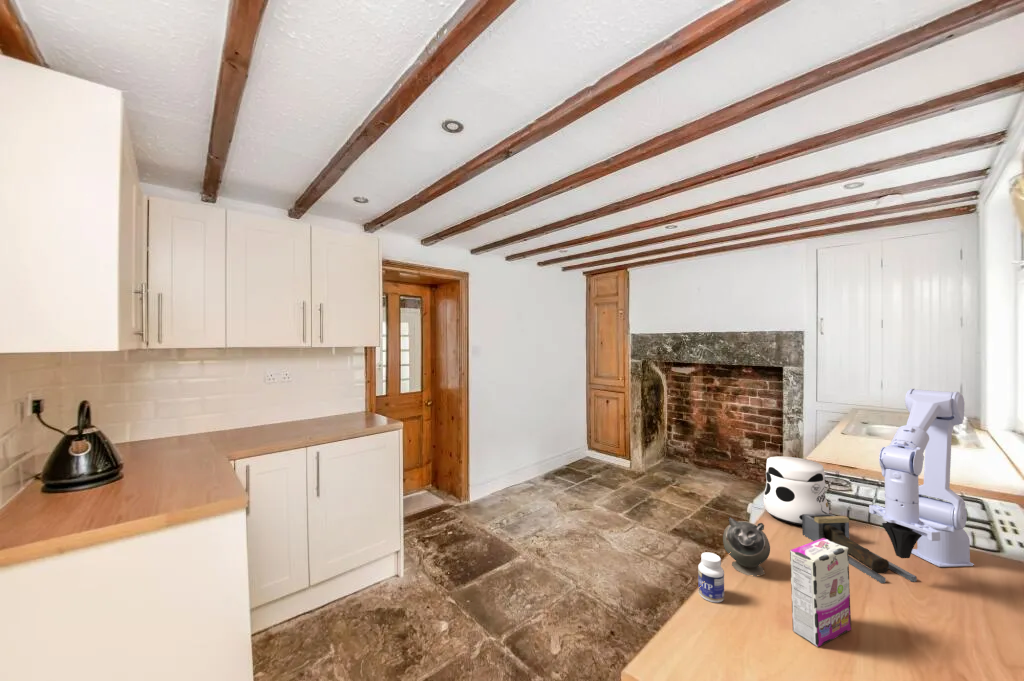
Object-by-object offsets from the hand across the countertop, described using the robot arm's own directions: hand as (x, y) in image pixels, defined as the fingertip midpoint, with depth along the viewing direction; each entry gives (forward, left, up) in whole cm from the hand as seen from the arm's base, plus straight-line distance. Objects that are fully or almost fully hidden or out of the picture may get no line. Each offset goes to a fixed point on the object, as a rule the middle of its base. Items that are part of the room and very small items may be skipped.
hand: (902, 556), depth 94 cm
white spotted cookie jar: (-1, -35, -7) cm, 36 cm away
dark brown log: (0, -14, -7) cm, 16 cm away
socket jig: (0, -13, -7) cm, 15 cm away
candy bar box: (+31, +13, -7) cm, 34 cm away
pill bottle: (+47, +1, -7) cm, 47 cm away
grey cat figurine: (+32, -9, -7) cm, 34 cm away
